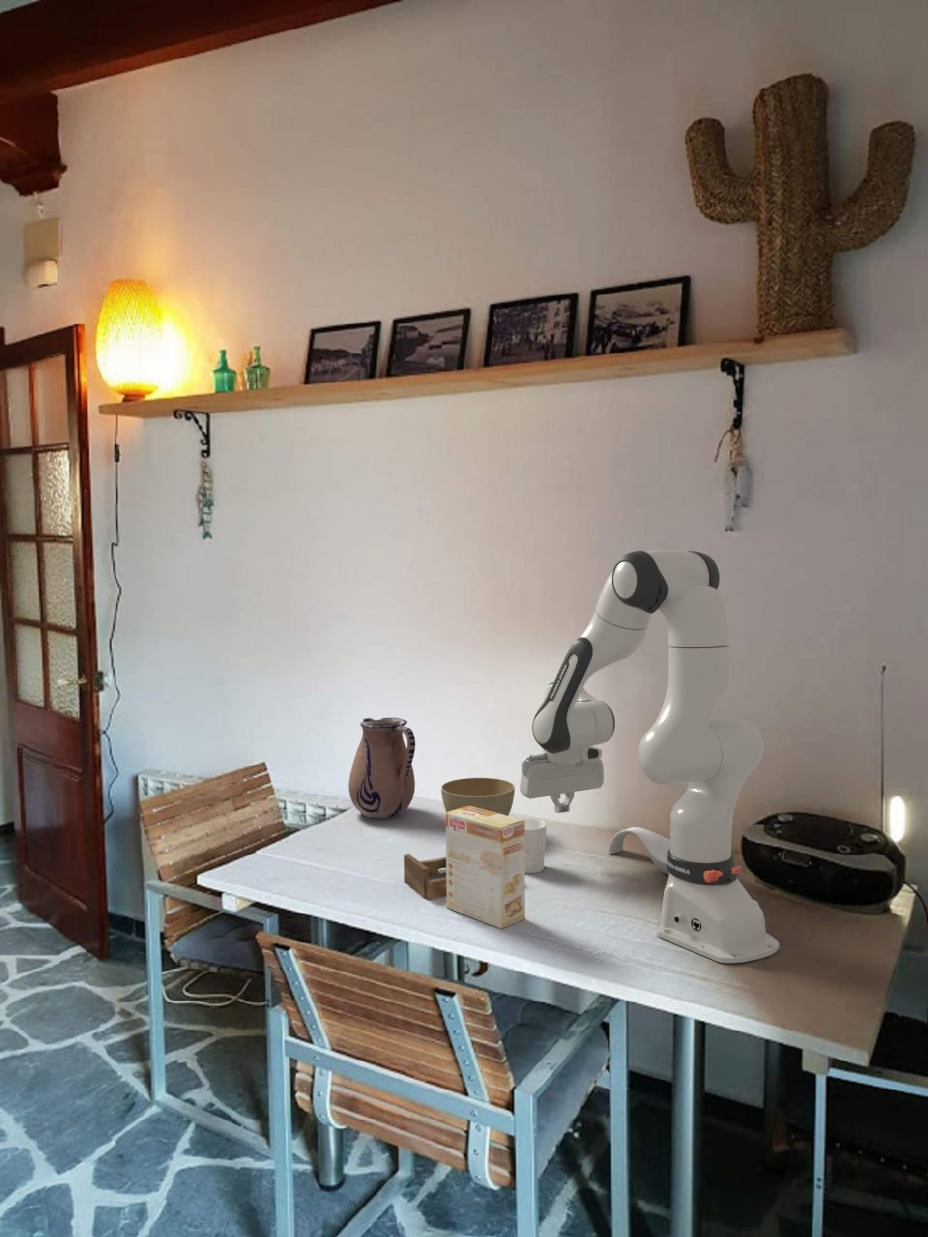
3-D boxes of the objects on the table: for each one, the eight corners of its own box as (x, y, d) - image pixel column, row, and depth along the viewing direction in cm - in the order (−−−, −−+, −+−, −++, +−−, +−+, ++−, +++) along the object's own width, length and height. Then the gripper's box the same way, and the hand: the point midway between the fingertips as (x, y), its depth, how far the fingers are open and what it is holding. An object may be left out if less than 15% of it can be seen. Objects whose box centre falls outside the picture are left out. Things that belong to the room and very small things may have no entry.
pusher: (452, 872, 205) (452, 850, 205) (471, 886, 197) (471, 862, 197) (430, 876, 203) (430, 854, 202) (448, 890, 195) (448, 867, 194)
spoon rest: (716, 873, 206) (717, 840, 205) (686, 887, 198) (686, 853, 197) (628, 847, 223) (628, 817, 222) (597, 859, 215) (597, 828, 214)
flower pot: (520, 826, 239) (520, 778, 238) (507, 849, 221) (507, 798, 220) (451, 821, 243) (451, 775, 242) (433, 844, 225) (432, 794, 224)
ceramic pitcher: (378, 801, 262) (376, 712, 260) (439, 813, 250) (438, 720, 248) (335, 817, 248) (333, 722, 246) (397, 831, 236) (395, 732, 234)
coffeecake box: (526, 919, 181) (526, 819, 179) (501, 930, 176) (500, 828, 174) (470, 898, 192) (469, 804, 190) (445, 908, 187) (444, 811, 185)
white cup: (522, 859, 214) (522, 816, 213) (553, 866, 210) (553, 822, 209) (504, 870, 208) (503, 825, 207) (534, 877, 203) (534, 831, 202)
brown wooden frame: (487, 864, 211) (487, 838, 210) (515, 882, 200) (515, 855, 199) (402, 880, 202) (401, 853, 201) (426, 900, 191) (425, 871, 190)
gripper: (529, 760, 203) (529, 822, 205) (608, 749, 212) (607, 809, 214) (515, 753, 209) (514, 814, 210) (592, 743, 218) (591, 802, 219)
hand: (562, 812), depth 212 cm, fingers closed
